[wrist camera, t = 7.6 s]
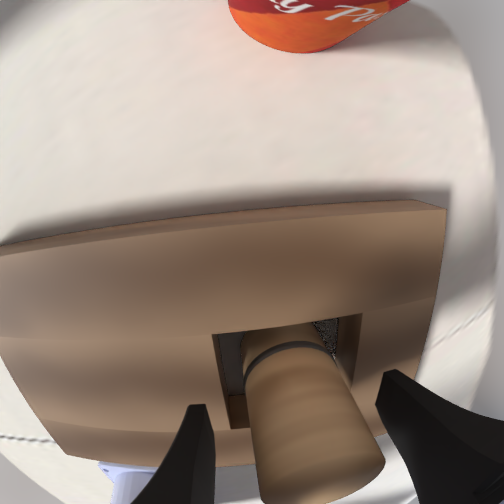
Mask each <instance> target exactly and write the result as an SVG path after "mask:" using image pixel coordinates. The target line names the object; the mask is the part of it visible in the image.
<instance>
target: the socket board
mask: <svg viewBox="0 0 504 504" xmlns="http://www.w3.org/2000/svg"><path fill="white" fill-rule="evenodd" d="M446 212H447V209H444V208H441V207H437V206H434V205H431V204H427V203H424V202H420V201H416V200H392V201H369V202H350V203H333V204H317V205H303V206H290V207H278V208H266V209H255V210H244V211H234V212H224V213H214V214H205V215H196V216H187V217H179V218H171V219H163V220H155V221H147V222H140V223H133V224H125V225H118V226H112V227H105V228H98V229H92V230H86V231H79V232H73V233H67V234H61V235H55V236H50V237H44V238H39V239H33V240H28V241H23V242H17V243H12V244H7V245H2V246H0V356H1V358H2V360H3V362H4V364H5V366H6V367H7V369H8V371H9V373H10V375H11V377H12V378H13V380H14V382H15V383H16V385H17V387H18V388H19V390H20V392H21V393H22V395H23V397H24V398H25V400H26V401H27V403H28V404H29V406H30V407H31V409H32V410H33V412H34V413H35V415H36V416H37V417H38V419H39V420H40V422H41V423H42V424H43V426H44V427H45V429H46V430H47V431H48V432H49V434H50V435H51V436H52V438H53V439H54V440H55V441H56V443H57V444H58V445H59V446H60V448H61V449H62V450H63V451H64V452H65V453H66V454H67V455H71V456H76V457H81V458H86V459H91V460H97V461H103V462H110V463H118V464H126V465H136V466H149V467H159V466H160V464H161V462H162V461H163V459H164V457H165V456H166V454H167V452H168V450H169V448H170V447H171V445H172V442H173V440H174V438H175V436H176V434H177V432H178V430H179V428H180V425H181V423H182V421H183V418H184V415H185V413H186V410H187V407H188V406H189V405H190V404H206V407H207V411H208V414H209V418H210V421H211V425H212V428H213V431H214V437H215V451H216V465H215V467H226V466H239V465H249V464H255V457H254V450H253V443H252V436H251V429H250V421H249V414H248V407H247V399H246V396H245V394H244V395H235V396H228V391H227V386H226V381H225V375H224V370H223V364H222V359H221V353H220V347H219V341H218V335H217V334H220V333H230V332H240V331H249V330H257V329H265V328H273V327H280V326H287V325H294V324H301V323H307V322H313V321H319V320H325V319H331V318H337V317H339V321H338V334H337V345H336V355H335V362H336V364H337V367H338V370H339V372H340V374H341V375H342V377H343V379H344V381H345V383H346V385H347V387H348V389H349V390H350V392H351V394H352V396H353V398H354V400H355V402H356V404H357V406H358V407H359V409H360V411H361V413H362V415H363V417H364V419H365V421H366V423H367V425H368V427H369V428H370V430H371V432H372V434H373V436H374V437H377V436H379V435H382V434H385V433H388V432H387V430H386V429H385V427H384V425H383V423H382V421H381V419H380V416H379V414H378V411H377V409H376V406H375V402H376V399H377V395H378V391H379V388H380V384H381V380H382V376H383V372H386V371H389V370H393V369H397V370H399V371H400V372H402V373H404V374H405V375H407V376H408V377H410V378H411V379H413V380H414V378H415V375H416V372H417V368H418V365H419V362H420V359H421V355H422V352H423V348H424V345H425V341H426V337H427V333H428V329H429V325H430V321H431V317H432V312H433V308H434V303H435V298H436V293H437V287H438V282H439V276H440V269H441V262H442V255H443V247H444V237H445V226H446Z"/></svg>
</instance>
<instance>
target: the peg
mask: <svg viewBox="0 0 504 504" xmlns="http://www.w3.org/2000/svg"><path fill="white" fill-rule="evenodd" d="M241 359H242V367H243V375H244V379H243V385H244V392H245V396H246V399H247V407H248V414H249V421H250V429H251V436H252V443H253V450H254V457H255V464H256V471H257V477H258V484H259V490H260V497H261V500H262V502H263V503H265V504H326V503H330V502H333V501H336V500H338V499H341V498H343V497H346V496H348V495H350V494H352V493H354V492H356V491H358V490H359V489H361V488H363V487H364V486H366V485H367V484H368V483H370V482H371V481H372V480H374V479H375V478H376V477H377V476H378V475H379V474H380V472H381V471H382V470H383V468H384V466H385V462H386V461H385V458H384V456H383V454H382V452H381V450H380V448H379V446H378V444H377V442H376V440H375V438H374V436H373V434H372V432H371V430H370V428H369V427H368V425H367V423H366V421H365V419H364V417H363V415H362V413H361V411H360V409H359V407H358V406H357V404H356V402H355V400H354V398H353V396H352V394H351V392H350V390H349V389H348V387H347V385H346V383H345V381H344V379H343V377H342V375H341V374H340V372H339V370H338V367H337V364H336V362H335V360H334V358H333V356H332V355H331V353H330V352H329V351H328V349H327V348H326V346H325V344H324V342H323V340H322V338H321V337H320V335H319V333H318V331H317V329H316V328H315V326H314V325H313V323H312V322H307V323H301V324H294V325H287V326H280V327H273V328H265V329H257V330H249V331H247V332H246V333H245V335H244V337H243V339H242V342H241Z"/></svg>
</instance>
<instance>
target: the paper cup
mask: <svg viewBox="0 0 504 504" xmlns="http://www.w3.org/2000/svg"><path fill="white" fill-rule="evenodd" d="M408 1H409V0H228V4H229V9H230V12H231V14H232V16H233V18H234V20H235V22H236V23H237V24H238V26H239V27H240V28H241V29H242V30H243V31H244V32H245V33H246V34H248V35H249V36H250V37H252V38H253V39H255V40H256V41H258V42H260V43H262V44H264V45H266V46H268V47H271V48H274V49H277V50H280V51H285V52H291V53H313V52H318V51H322V50H325V49H327V48H330V47H332V46H334V45H336V44H337V43H339V42H341V41H342V40H344V39H346V38H347V37H349V36H350V35H352V34H354V33H355V32H357V31H358V30H360V29H362V28H363V27H365V26H366V25H368V24H370V23H371V22H373V21H375V20H376V19H378V18H380V17H381V16H383V15H385V14H386V13H388V12H390V11H391V10H393V9H395V8H397V7H399V6H400V5H402V4H404V3H406V2H408Z"/></svg>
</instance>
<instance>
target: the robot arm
mask: <svg viewBox="0 0 504 504" xmlns="http://www.w3.org/2000/svg"><path fill="white" fill-rule="evenodd" d="M375 406H376V409H377V411H378V414H379V416H380V419H381V421H382V423H383V425H384V427H385V429H386V430H387V432H388V434H389V436H390V437H391V439H392V441H393V443H394V444H395V446H396V448H397V449H398V451H399V453H400V455H401V456H402V458H403V460H404V462H405V464H406V466H407V468H408V471H409V473H410V476H411V478H412V481H413V484H414V487H415V490H416V493H417V496H418V499H419V503H420V504H504V421H501V420H497V419H493V418H489V417H485V416H482V415H479V414H476V413H473V412H471V411H468V410H466V409H464V408H461V407H459V406H457V405H455V404H453V403H451V402H449V401H447V400H445V399H443V398H442V397H440V396H438V395H436V394H435V393H433V392H431V391H430V390H428V389H427V388H425V387H423V386H422V385H420V384H419V383H417V382H416V381H414V380H413V379H411V378H410V377H408V376H407V375H405V374H404V373H402V372H400V371H399V370H397V369H393V370H389V371H386V372H383V376H382V380H381V384H380V388H379V391H378V395H377V399H376V402H375ZM215 465H216V451H215V437H214V431H213V428H212V425H211V421H210V418H209V414H208V411H207V407H206V404H190V405H189V406H188V407H187V410H186V413H185V415H184V418H183V421H182V423H181V425H180V428H179V430H178V432H177V434H176V436H175V438H174V440H173V442H172V445H171V447H170V448H169V450H168V452H167V454H166V456H165V457H164V459H163V461H162V462H161V464H160V466H159V467H147V466H135V465H125V464H117V463H109V462H103V461H100V462H99V463H98V466H99V468H100V469H101V470H102V471H103V472H104V473H105V474H106V475H107V477H108V478H109V479H110V480H111V481H112V482H113V483H114V488H113V493H112V498H111V503H110V504H214V489H215Z"/></svg>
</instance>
